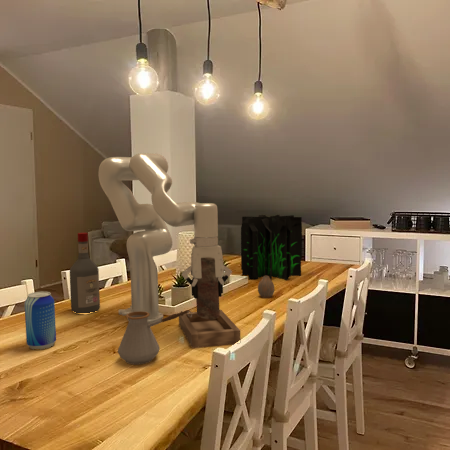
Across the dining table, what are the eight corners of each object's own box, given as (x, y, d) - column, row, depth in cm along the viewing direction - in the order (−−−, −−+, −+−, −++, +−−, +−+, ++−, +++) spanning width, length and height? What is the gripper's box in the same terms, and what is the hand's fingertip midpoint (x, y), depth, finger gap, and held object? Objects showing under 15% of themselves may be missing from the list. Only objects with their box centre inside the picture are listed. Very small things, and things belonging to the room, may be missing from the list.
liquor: (102, 310, 185) (99, 232, 182) (81, 316, 179) (78, 235, 176) (89, 306, 192) (86, 231, 189) (68, 311, 185) (65, 233, 182)
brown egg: (273, 299, 200) (273, 278, 199) (256, 298, 202) (256, 277, 201) (275, 295, 207) (275, 274, 206) (259, 294, 208) (258, 274, 207)
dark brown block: (192, 319, 155) (191, 257, 153) (201, 313, 161) (200, 253, 160) (214, 321, 152) (213, 258, 150) (223, 315, 159) (222, 254, 157)
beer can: (38, 352, 142) (36, 298, 140) (20, 347, 146) (17, 295, 145) (62, 343, 149) (59, 292, 147) (44, 339, 153) (41, 289, 152)
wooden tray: (191, 348, 144) (191, 334, 143) (178, 324, 167) (178, 313, 167) (240, 343, 148) (240, 330, 147) (221, 320, 171) (221, 309, 170)
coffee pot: (110, 365, 131) (108, 311, 130) (129, 350, 143) (127, 300, 141) (185, 372, 126) (184, 316, 125) (198, 356, 137) (197, 304, 136)
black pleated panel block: (308, 273, 253) (309, 215, 250) (283, 284, 228) (284, 220, 225) (260, 268, 268) (259, 213, 265) (231, 277, 243) (231, 218, 240)
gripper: (181, 245, 149) (182, 301, 150) (235, 242, 153) (236, 297, 155) (177, 242, 156) (178, 296, 158) (229, 239, 160) (230, 292, 162)
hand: (207, 296), depth 156 cm, fingers closed on dark brown block, 7 cm apart
